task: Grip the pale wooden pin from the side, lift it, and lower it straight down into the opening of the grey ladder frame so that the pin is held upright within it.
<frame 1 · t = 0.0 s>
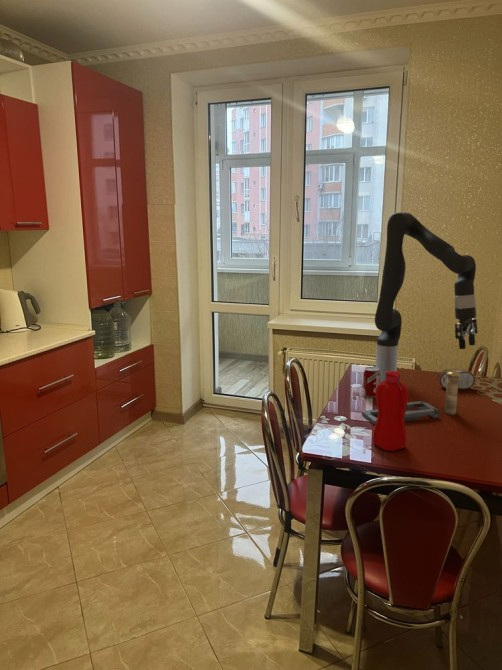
hand: (467, 347, 190), 22 cm above the table, tool pointing down, fingers open, 8 cm apart
grey ladder frame: (399, 416, 179), on the table
soda can: (370, 396, 201), on the table
water bottle: (390, 447, 155), on the table
pin: (450, 412, 182), on the table
tin: (455, 389, 209), on the table
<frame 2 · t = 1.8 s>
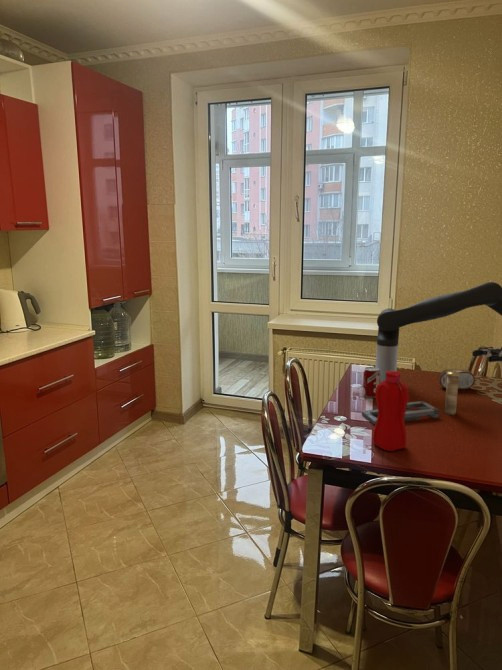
hand: (480, 356, 180), 22 cm above the table, tool horizontal, fingers open, 8 cm apart
nothing on the table moved.
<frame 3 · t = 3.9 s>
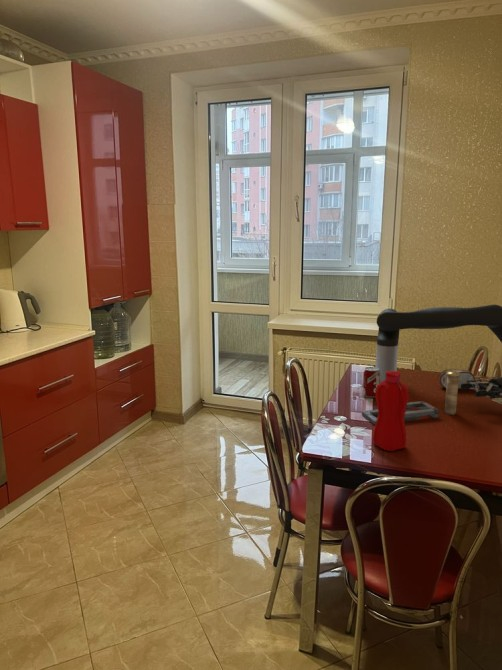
hand: (468, 390, 182), 8 cm above the table, tool horizontal, fingers open, 8 cm apart
nothing on the table moved.
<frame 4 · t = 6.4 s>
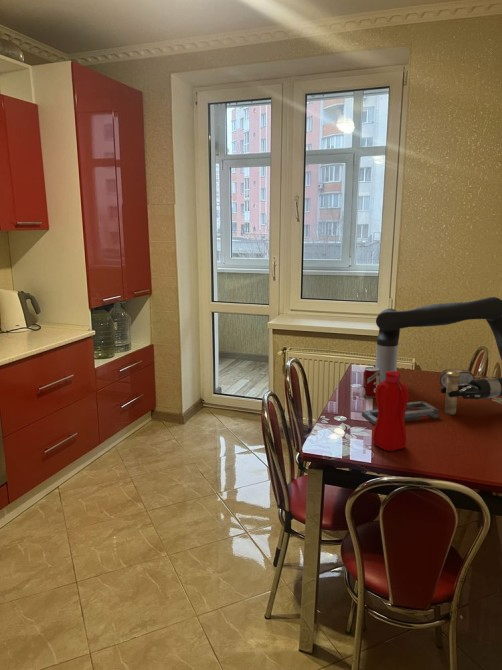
hand: (445, 392, 179), 9 cm above the table, tool horizontal, fingers closed on pin, 4 cm apart
pin: (450, 412, 182), on the table, touching gripper
everything else where it was.
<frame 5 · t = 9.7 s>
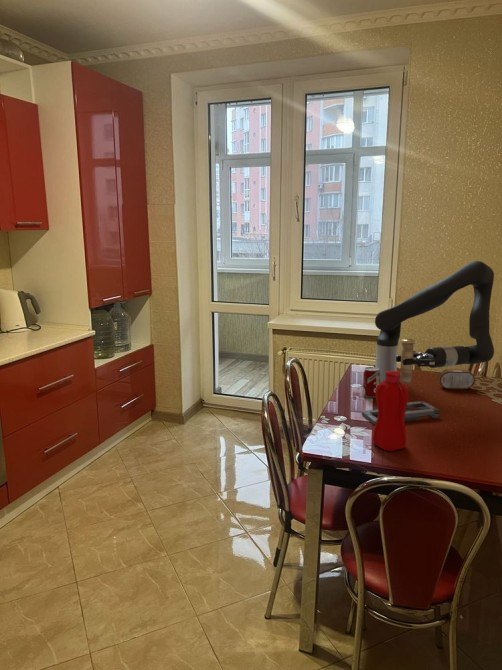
hand: (399, 360, 174), 22 cm above the table, tool horizontal, fingers closed on pin, 4 cm apart
pin: (405, 382, 177), point 13 cm above the table, touching gripper
everything else where it was.
when the fingers open (10 cm above the table, at t = 13.2 s): pin drops 1 cm, resting in grey ladder frame.
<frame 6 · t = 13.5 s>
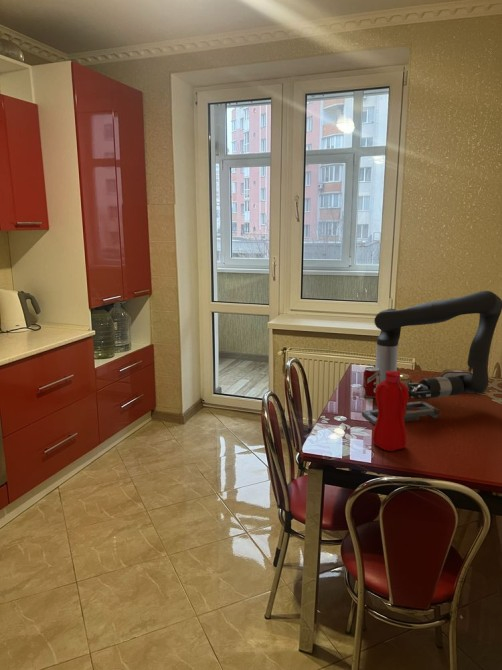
hand: (395, 391, 177), 10 cm above the table, tool horizontal, fingers open, 6 cm apart
pin: (399, 416, 179), resting in grey ladder frame
everything else where it was.
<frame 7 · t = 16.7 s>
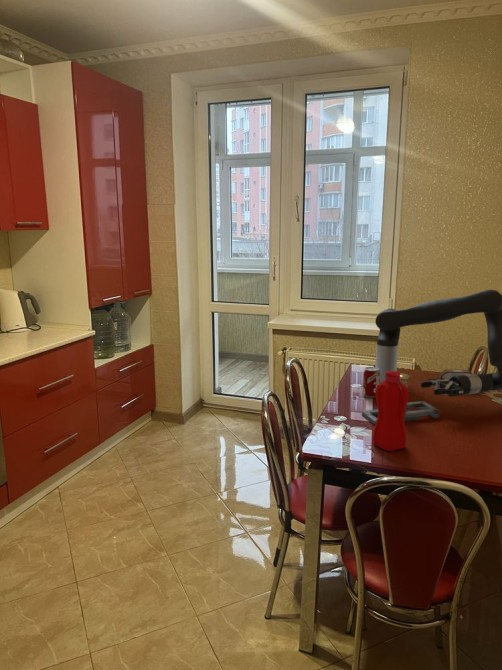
hand: (427, 388, 180), 10 cm above the table, tool horizontal, fingers open, 8 cm apart
nothing on the table moved.
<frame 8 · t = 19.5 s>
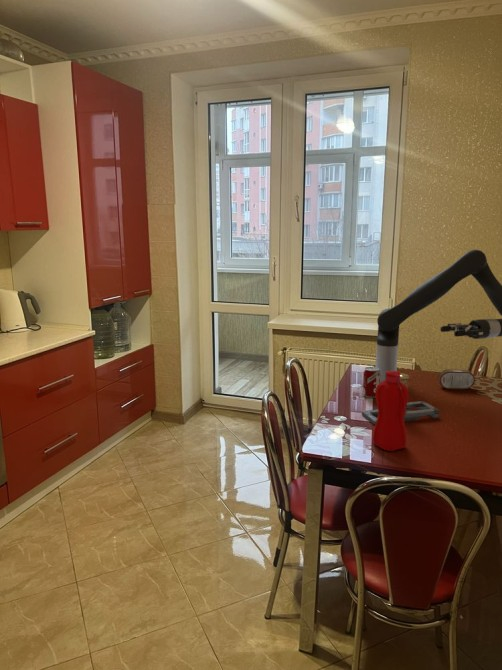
hand: (447, 331, 183), 30 cm above the table, tool horizontal, fingers open, 8 cm apart
nothing on the table moved.
at the end: pin 0.1 cm off-centre on the grey ladder frame, point 0.0 cm above the grey ladder frame's base; pin tilted 1°; the gripper is holding nothing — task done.
